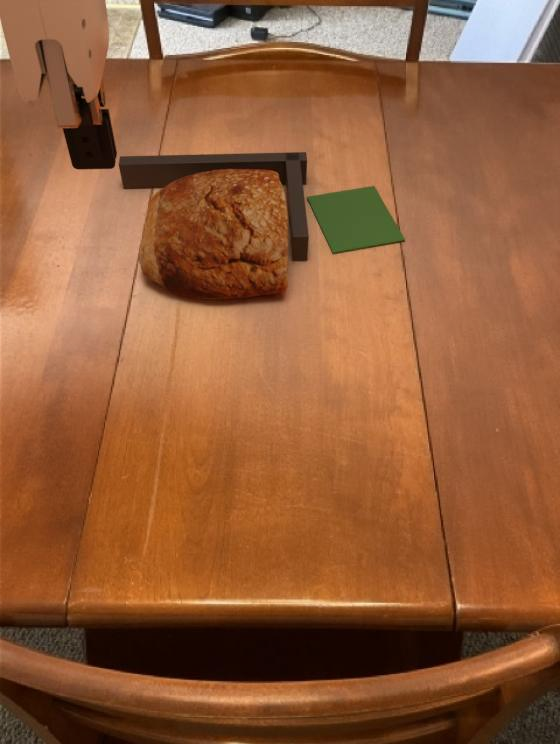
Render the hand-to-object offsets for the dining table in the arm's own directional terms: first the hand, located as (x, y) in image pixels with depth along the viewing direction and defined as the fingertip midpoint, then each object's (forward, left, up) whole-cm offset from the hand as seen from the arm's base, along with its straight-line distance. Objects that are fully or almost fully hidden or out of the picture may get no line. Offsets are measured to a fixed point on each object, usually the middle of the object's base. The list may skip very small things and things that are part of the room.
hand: (95, 162), depth 52 cm
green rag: (+26, +28, -29) cm, 47 cm away
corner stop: (+7, +29, -29) cm, 41 cm away
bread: (+7, +22, -29) cm, 37 cm away
